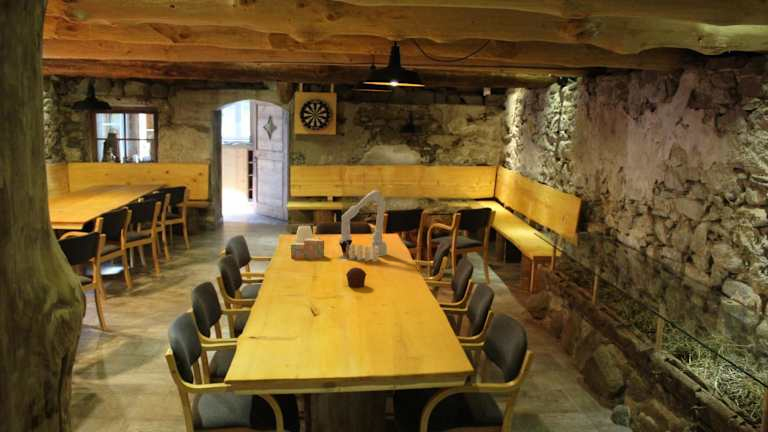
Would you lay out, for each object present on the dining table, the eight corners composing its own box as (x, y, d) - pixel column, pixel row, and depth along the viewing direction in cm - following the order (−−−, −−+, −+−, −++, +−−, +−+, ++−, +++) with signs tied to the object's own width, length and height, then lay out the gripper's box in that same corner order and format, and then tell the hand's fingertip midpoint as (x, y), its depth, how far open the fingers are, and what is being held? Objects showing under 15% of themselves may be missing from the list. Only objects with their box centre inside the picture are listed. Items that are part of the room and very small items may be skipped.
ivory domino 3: (370, 259, 398) (370, 245, 397) (367, 260, 394) (367, 247, 392) (367, 258, 399) (367, 245, 398) (364, 260, 395) (364, 247, 393)
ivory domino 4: (378, 260, 396) (378, 246, 395) (375, 261, 392) (375, 248, 390) (375, 259, 397) (375, 246, 396) (372, 261, 393) (372, 247, 391)
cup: (317, 246, 440) (317, 227, 437) (300, 248, 432) (300, 229, 430) (308, 243, 451) (308, 224, 448) (292, 245, 443) (291, 226, 441)
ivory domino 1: (355, 257, 403) (355, 244, 401) (352, 259, 398) (352, 245, 397) (352, 257, 403) (352, 244, 402) (349, 258, 399) (349, 245, 397)
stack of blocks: (290, 258, 404) (290, 239, 402) (293, 255, 410) (292, 238, 408) (322, 258, 402) (322, 240, 400) (324, 256, 408) (324, 238, 406)
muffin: (368, 287, 335) (368, 270, 333) (349, 289, 332) (348, 271, 330) (363, 282, 346) (363, 265, 344) (344, 283, 343) (344, 266, 341)
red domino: (348, 255, 413) (348, 242, 411) (345, 256, 408) (345, 243, 407) (346, 254, 414) (346, 241, 412) (342, 256, 409) (342, 243, 408)
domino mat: (380, 260, 397) (380, 259, 397) (375, 263, 390) (375, 262, 390) (342, 256, 408) (342, 255, 408) (336, 259, 401) (336, 258, 401)
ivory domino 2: (363, 258, 401) (363, 245, 399) (359, 260, 396) (359, 246, 394) (360, 258, 401) (360, 244, 400) (357, 259, 397) (356, 246, 395)
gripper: (345, 229, 416) (345, 248, 419) (335, 233, 403) (335, 253, 405) (354, 230, 414) (354, 249, 416) (345, 234, 400) (345, 254, 403)
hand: (345, 251), depth 410 cm, fingers closed on red domino, 5 cm apart
